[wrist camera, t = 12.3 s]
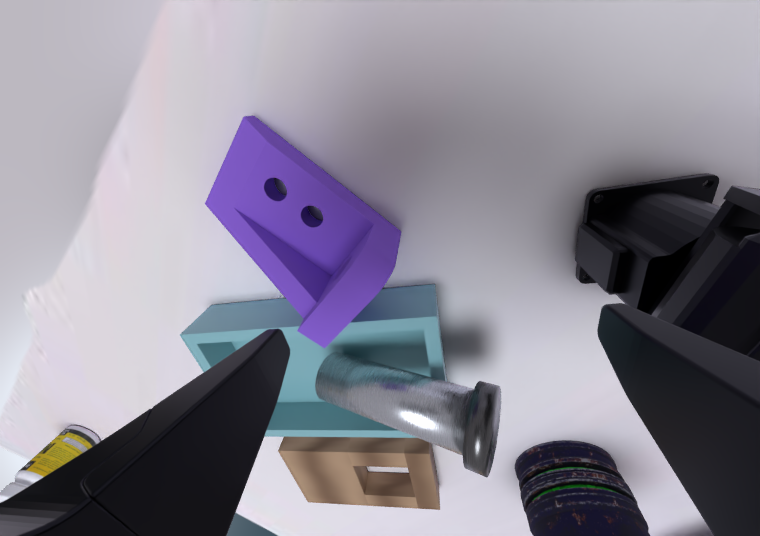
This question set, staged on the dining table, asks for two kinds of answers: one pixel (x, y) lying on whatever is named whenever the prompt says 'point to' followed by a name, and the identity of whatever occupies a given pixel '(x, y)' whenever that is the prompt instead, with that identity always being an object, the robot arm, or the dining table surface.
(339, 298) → the bracket
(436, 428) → the pin
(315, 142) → the dining table surface
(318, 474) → the block
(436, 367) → the tray
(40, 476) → the supplement bottle
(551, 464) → the storage jar
